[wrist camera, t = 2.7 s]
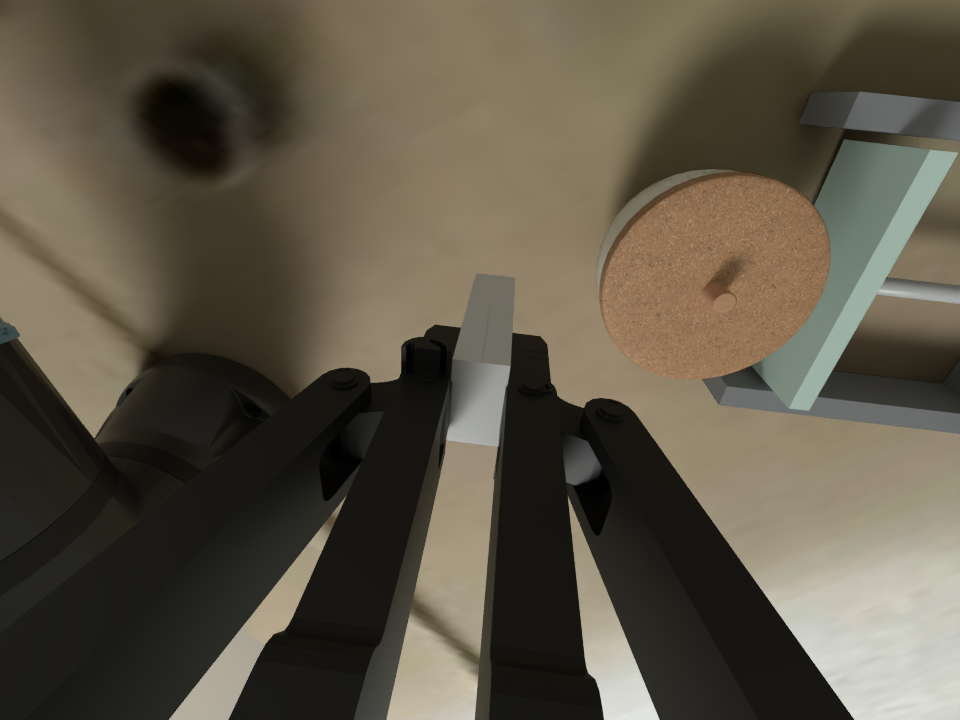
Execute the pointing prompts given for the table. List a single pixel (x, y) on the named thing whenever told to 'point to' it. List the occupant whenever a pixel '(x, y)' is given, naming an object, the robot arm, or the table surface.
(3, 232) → the table surface
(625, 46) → the table surface
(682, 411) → the table surface
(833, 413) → the grey fixture frame
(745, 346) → the lidded jar
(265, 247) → the table surface
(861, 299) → the pusher
